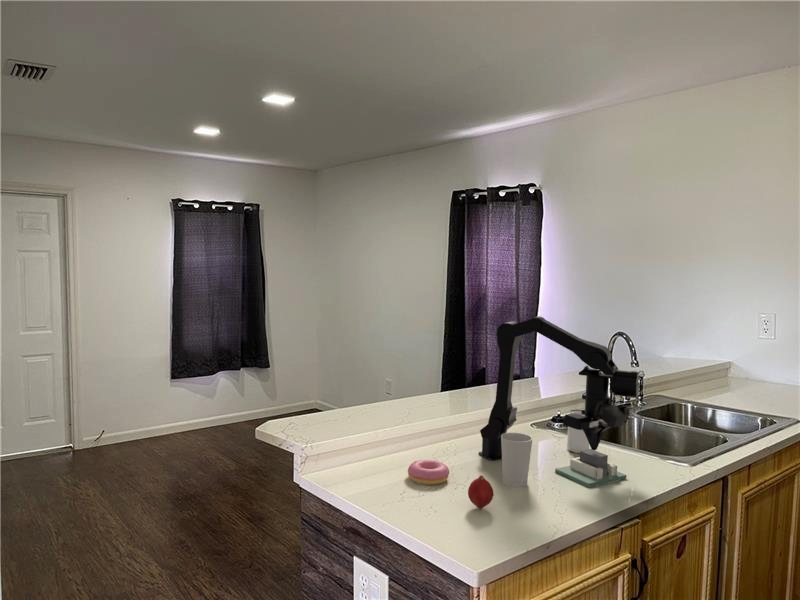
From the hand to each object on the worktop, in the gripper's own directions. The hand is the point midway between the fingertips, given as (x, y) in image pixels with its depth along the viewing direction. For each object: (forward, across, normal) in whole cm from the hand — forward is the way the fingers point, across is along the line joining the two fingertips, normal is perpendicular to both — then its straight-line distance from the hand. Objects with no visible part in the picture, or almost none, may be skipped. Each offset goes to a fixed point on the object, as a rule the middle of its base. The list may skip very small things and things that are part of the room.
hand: (593, 449), depth 160 cm
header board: (+7, -1, 0) cm, 7 cm away
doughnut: (+7, -42, +17) cm, 46 cm away
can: (+7, +12, +17) cm, 22 cm away
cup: (+7, -23, +5) cm, 25 cm away
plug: (+6, 0, 0) cm, 6 cm away
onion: (+7, -41, -4) cm, 42 cm away
